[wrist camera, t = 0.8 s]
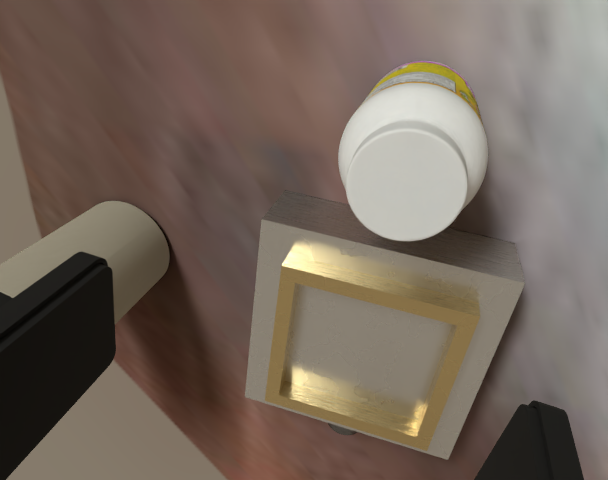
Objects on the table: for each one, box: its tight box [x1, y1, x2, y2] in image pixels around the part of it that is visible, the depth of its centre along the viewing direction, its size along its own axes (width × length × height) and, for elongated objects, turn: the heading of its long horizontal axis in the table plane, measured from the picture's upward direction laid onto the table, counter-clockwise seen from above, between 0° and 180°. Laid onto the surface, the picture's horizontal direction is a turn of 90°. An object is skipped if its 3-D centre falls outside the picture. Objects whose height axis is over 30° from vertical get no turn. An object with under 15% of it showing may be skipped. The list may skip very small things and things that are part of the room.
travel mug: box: [0, 201, 170, 324], centre depth 33 cm, size 8×8×18 cm
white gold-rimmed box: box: [245, 190, 525, 460], centre depth 34 cm, size 16×18×6 cm
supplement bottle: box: [338, 61, 488, 241], centre depth 24 cm, size 7×7×13 cm
